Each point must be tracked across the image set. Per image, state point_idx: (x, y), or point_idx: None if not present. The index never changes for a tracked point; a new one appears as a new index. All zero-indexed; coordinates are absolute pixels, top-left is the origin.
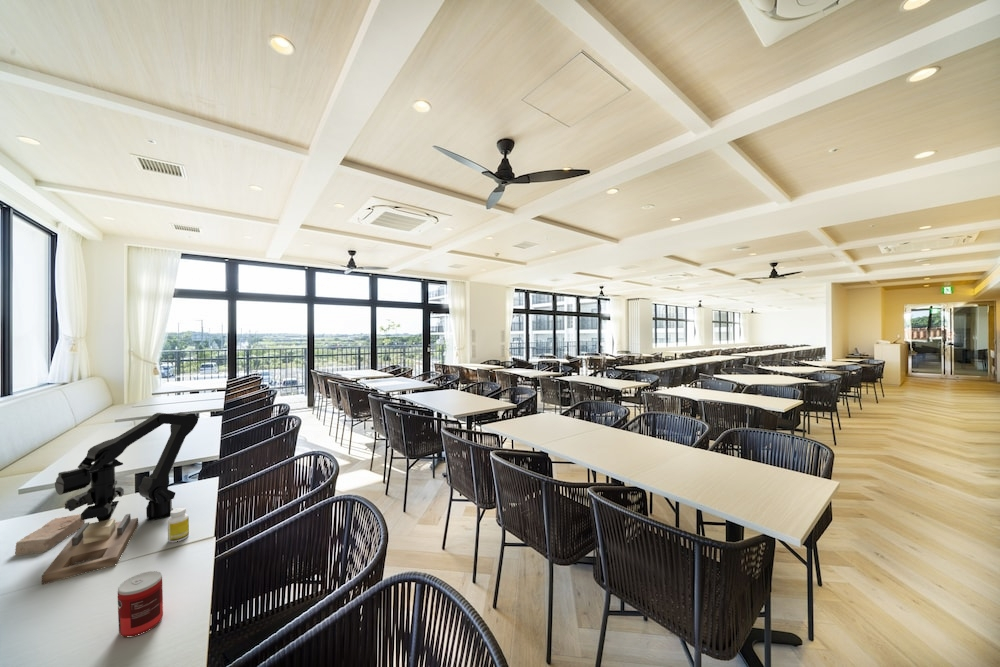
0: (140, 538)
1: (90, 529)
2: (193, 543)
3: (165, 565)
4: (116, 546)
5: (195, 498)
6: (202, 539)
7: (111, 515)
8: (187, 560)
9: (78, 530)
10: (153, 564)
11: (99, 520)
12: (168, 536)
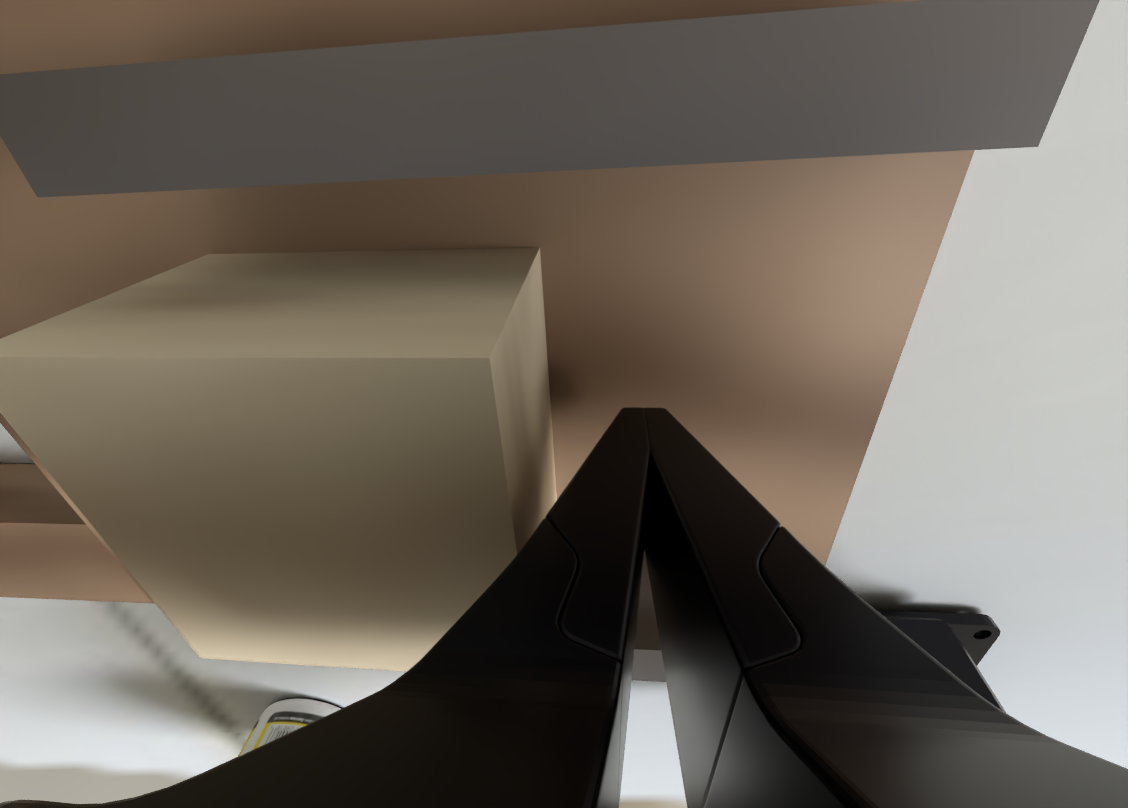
0: None
1: (82, 464)
2: (236, 751)
3: (21, 690)
4: (101, 572)
5: None
6: None
7: (665, 672)
8: (69, 735)
9: (483, 37)
10: (28, 661)
11: (556, 520)
12: (255, 743)
